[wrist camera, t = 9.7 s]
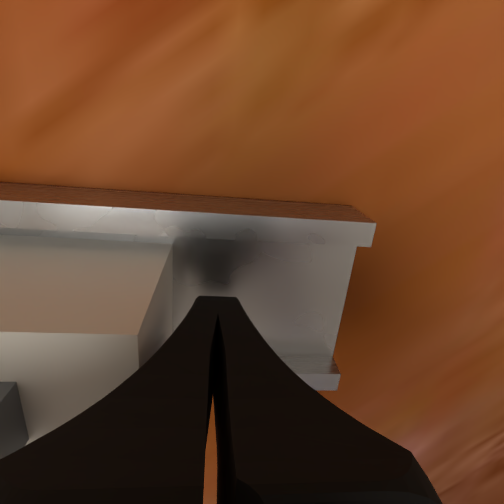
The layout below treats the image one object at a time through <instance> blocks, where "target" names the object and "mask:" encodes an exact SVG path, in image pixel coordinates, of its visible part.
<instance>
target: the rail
mask: <svg viewBox="0 0 504 504" xmlns="http://www.w3.org/2000/svg"><path fill="white" fill-rule="evenodd" d="M376 224H377V223H375V222H374V221H373V220H371V219H370V218H368V217H367V216H365V215H364V214H362V213H361V212H360V211H358V210H357V209H355V208H354V207H352V206H348V205H333V204H318V203H303V202H288V201H274V200H259V199H244V198H229V197H214V196H199V195H184V194H169V193H154V192H139V191H125V190H110V189H95V188H80V187H65V186H50V185H35V184H20V183H5V182H0V235H18V236H37V237H55V238H74V239H93V240H111V241H130V242H149V243H168V244H173V298H172V333H173V332H174V331H175V330H176V328H177V327H178V326H179V324H180V323H181V322H182V320H183V319H184V318H185V316H186V315H187V313H188V312H189V310H190V309H191V307H192V305H193V303H194V301H195V299H196V298H197V297H198V296H225V297H237V298H238V299H239V301H240V303H241V305H242V307H243V308H244V310H245V312H246V314H247V315H248V317H249V318H250V320H251V321H252V323H253V324H254V326H255V327H256V329H257V330H258V331H259V333H260V334H261V336H262V337H263V338H264V340H265V341H266V342H267V343H268V345H269V346H270V347H271V348H272V349H273V351H274V352H275V353H276V354H277V355H278V356H279V357H280V358H281V360H282V361H283V362H284V363H285V364H286V365H287V366H288V367H289V368H290V369H291V370H292V371H293V372H294V373H295V374H296V375H298V376H299V377H300V378H301V379H302V380H303V381H304V382H306V383H307V384H308V385H309V386H311V387H312V388H313V389H314V390H337V388H338V384H339V379H340V375H341V374H340V371H339V369H338V367H337V365H336V363H335V361H334V359H333V352H334V348H335V343H336V339H337V334H338V330H339V325H340V321H341V316H342V312H343V307H344V303H345V298H346V293H347V289H348V284H349V280H350V275H351V271H352V266H353V262H354V257H355V253H356V248H357V246H360V247H371V245H372V241H373V236H374V232H375V228H376Z"/></svg>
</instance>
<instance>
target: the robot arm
mask: <svg viewBox="0 0 504 504" xmlns="http://www.w3.org/2000/svg"><path fill="white" fill-rule="evenodd" d="M212 397H213V398H214V412H215V427H216V442H217V504H442V502H441V500H440V498H439V497H438V495H437V493H436V491H435V489H434V487H433V486H432V484H431V482H430V481H429V479H428V477H427V476H426V474H425V473H424V471H423V470H422V468H421V467H420V465H419V464H418V462H417V461H416V459H415V457H414V456H413V454H412V453H411V452H410V451H409V450H407V449H405V448H403V447H402V446H400V445H398V444H396V443H395V442H393V441H391V440H389V439H388V438H386V437H384V436H382V435H381V434H379V433H377V432H375V431H374V430H372V429H370V428H368V427H367V426H365V425H363V424H362V423H360V422H359V421H357V420H356V419H354V418H353V417H351V416H350V415H348V414H347V413H345V412H344V411H342V410H341V409H339V408H338V407H337V406H335V405H334V404H332V403H331V402H330V401H328V400H327V399H326V398H324V397H323V396H322V395H320V394H319V393H318V392H317V391H315V390H314V389H313V388H312V387H311V386H309V385H308V384H307V383H306V382H304V381H303V380H302V379H301V378H300V377H299V376H298V375H296V374H295V373H294V372H293V371H292V370H291V369H290V368H289V367H288V366H287V365H286V364H285V363H284V362H283V361H282V360H281V358H280V357H279V356H278V355H277V354H276V353H275V352H274V351H273V349H272V348H271V347H270V346H269V345H268V343H267V342H266V341H265V340H264V338H263V337H262V336H261V334H260V333H259V331H258V330H257V329H256V327H255V326H254V324H253V323H252V321H251V320H250V318H249V317H248V315H247V314H246V312H245V310H244V308H243V307H242V305H241V303H240V301H239V299H238V298H237V297H225V296H198V297H197V298H196V299H195V301H194V303H193V305H192V307H191V309H190V310H189V312H188V313H187V315H186V316H185V318H184V319H183V320H182V322H181V323H180V324H179V326H178V327H177V328H176V330H175V331H174V332H173V333H172V335H171V336H170V337H169V338H168V339H167V340H166V341H165V343H164V344H163V345H162V346H161V347H160V348H159V349H158V350H157V352H156V353H155V354H154V355H153V356H152V357H151V358H150V359H149V360H148V361H147V362H146V363H144V364H143V365H142V366H141V367H140V368H139V369H138V370H137V371H136V372H135V373H133V374H132V375H131V376H130V377H129V378H127V379H126V380H125V381H124V382H123V383H121V384H120V385H119V386H118V387H117V388H115V389H114V390H113V391H111V392H110V393H109V394H108V395H106V396H105V397H104V398H102V399H101V400H99V401H98V402H96V403H95V404H94V405H92V406H91V407H89V408H88V409H86V410H85V411H83V412H82V413H80V414H78V415H77V416H75V417H74V418H72V419H71V420H69V421H68V422H66V423H64V424H63V425H61V426H59V427H58V428H56V429H54V430H53V431H51V432H49V433H47V434H45V435H44V436H42V437H40V438H38V439H36V440H35V441H33V442H31V443H29V444H28V445H26V446H24V447H22V448H20V449H19V450H17V451H15V452H13V453H11V454H9V455H8V456H6V457H4V458H2V459H0V504H203V489H204V467H205V449H206V442H207V434H208V427H209V419H210V412H211V405H212Z"/></svg>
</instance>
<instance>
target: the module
mask: <svg viewBox="0 0 504 504" xmlns="http://www.w3.org/2000/svg"><path fill="white" fill-rule="evenodd" d="M172 298H173V244H168V243H149V242H130V241H111V240H93V239H74V238H55V237H37V236H18V235H0V459H2V458H4V457H6V456H8V455H9V454H11V453H13V452H15V451H17V450H19V449H20V448H22V447H24V446H26V445H28V444H29V443H31V442H33V441H35V440H36V439H38V438H40V437H42V436H44V435H45V434H47V433H49V432H51V431H53V430H54V429H56V428H58V427H59V426H61V425H63V424H64V423H66V422H68V421H69V420H71V419H72V418H74V417H75V416H77V415H78V414H80V413H82V412H83V411H85V410H86V409H88V408H89V407H91V406H92V405H94V404H95V403H96V402H98V401H99V400H101V399H102V398H104V397H105V396H106V395H108V394H109V393H110V392H111V391H113V390H114V389H115V388H117V387H118V386H119V385H120V384H121V383H123V382H124V381H125V380H126V379H127V378H129V377H130V376H131V375H132V374H133V373H135V372H136V371H137V370H138V369H139V368H140V367H141V366H142V365H143V364H144V363H146V362H147V361H148V360H149V359H150V358H151V357H152V356H153V355H154V354H155V353H156V352H157V350H158V349H159V348H160V347H161V346H162V345H163V344H164V343H165V341H166V340H167V339H168V338H169V337H170V336H171V335H172Z"/></svg>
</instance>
